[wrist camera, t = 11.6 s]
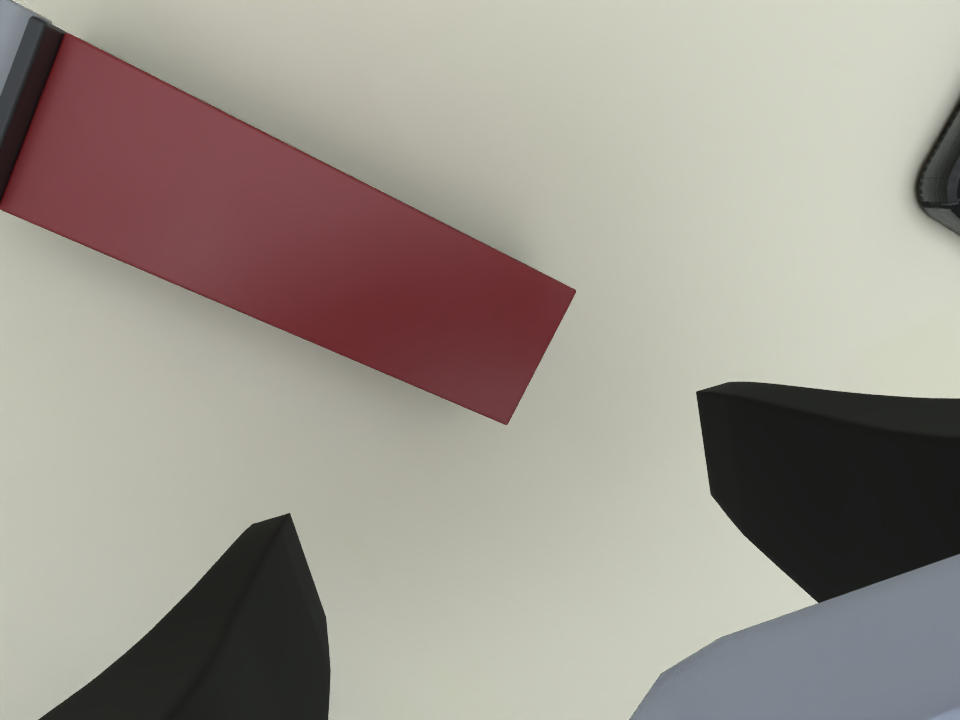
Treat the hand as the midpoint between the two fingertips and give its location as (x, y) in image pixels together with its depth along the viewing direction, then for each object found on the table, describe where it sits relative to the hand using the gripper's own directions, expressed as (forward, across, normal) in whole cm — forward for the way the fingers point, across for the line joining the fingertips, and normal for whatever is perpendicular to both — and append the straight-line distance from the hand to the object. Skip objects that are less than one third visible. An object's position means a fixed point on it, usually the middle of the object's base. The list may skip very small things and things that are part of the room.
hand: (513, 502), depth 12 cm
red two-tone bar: (+10, +3, -5) cm, 11 cm away
